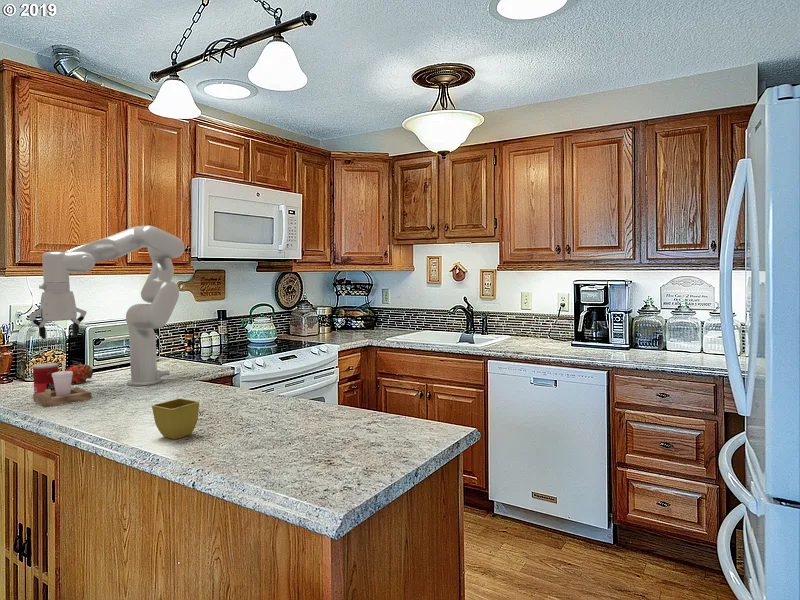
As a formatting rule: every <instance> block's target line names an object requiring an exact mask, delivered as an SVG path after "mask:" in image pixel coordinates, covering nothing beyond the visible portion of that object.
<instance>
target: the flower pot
mask: <svg viewBox="0 0 800 600" xmlns="http://www.w3.org/2000/svg"><path fill="white" fill-rule="evenodd" d="M151 408H152V409H151V410H152V414H153V419H154V424H155V426H156V428H157V430H158V432H159V433H160V434H161V435H162V436H163V437H164V436H165V437H164V438H167V437H168V438H167V439H171V438H172V439H171V440H178V439H181V438H184V437H186V436H190V435H192V433H193V432H194V430H195V428H196V425H197V423H198V419H199V411H200V409H199V408H200V401H197V400H193V399H192V400H191V399H186V398H176V399H172V400H167V401H164V402H159V403H156V404H152V405H151ZM177 438H178V439H177Z"/></svg>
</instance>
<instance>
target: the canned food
mask: <svg viewBox="0 0 800 600" xmlns="http://www.w3.org/2000/svg"><path fill="white" fill-rule="evenodd" d="M55 372H60V371H59V364H58V363H55V362H47V363H37V364H34V365H32V374H33V375H32V378H33V379H32V380H33V392H34V393H33V394H35V393H42V392H45V390H46V389H51V391H55V386H54V381H53V377H52V373H55Z"/></svg>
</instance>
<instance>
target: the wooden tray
mask: <svg viewBox="0 0 800 600" xmlns="http://www.w3.org/2000/svg"><path fill="white" fill-rule="evenodd" d="M90 399H91V400H92V393H91V392H90V391H88V390H86V389H83V388H81V387H79V386H76V387H71V392H70V394H68V395H62V396H56V391H51V389H46V390H45V392H42V393H35V394H34V393H33V402H35V403H37V404H38V405H40V406H41V407H43V408H49V407H50V406H51V407H56V406H55V405H57V406H62V405H61V404H63V405H67V404H66V403H69V404H73V403H72V402H75V403H79V402H78V401H81V402H85V401H84V400H87V401H91V400H90Z"/></svg>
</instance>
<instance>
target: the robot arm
mask: <svg viewBox="0 0 800 600" xmlns="http://www.w3.org/2000/svg"><path fill="white" fill-rule="evenodd" d="M142 248H147V253H148V254H149V257H150V260H151V263H152V265H151V266H152V267H151V270H150V272H149V275H148V277H147V278H146V279H145V283H144V284H143V287H142V288H141V291H140V297H141V299H142V300H143V301H144V302H146V303H136V304H134V305H131V306H130V307H128V309H127V310H126V314H125V321H126V325H127V326H126V327H127V329H128V337H129V338H128V341H129V359H130V379H129V380H127V381H126V385H127V386H132V387H133V386H135V387H136V386H137V387H141V386H149V385H155V384H159V383H162V376H163V377H164V376H165V377H166V376H169V375H170V374H171V373H170V370H168V369H167V370H159V369H158V363H157V362H158V361H157V359H158V358H157V338H156V337H157V336H156V334H155V330H156V329H158V330H159V329H161V328H163V327H165V325H166V324H167V323H168V322H169V320H170V318H171V316H172V313H173V312H174V310H175V307H176V304H177V303H178V301H179V298H180V289H179V287H178V285H177V283H175V282H174V281H172V279H173V276H174V273H175V268H174V264H173V261H172V259H176V258H177V259H178V258H180V257H181V256H183V254H184V253H185V250H186V248H185V244H184V242H183V240H182V239H181V238H179V237H178V236H175V235H174V234H172V233H170V232H167V231H165V230H164V229H161V228H158V227H156V226H153V225H149V224H148V225H138V226H137V225H136V226H132V227H129V228H128V229H127V228H126V229H124V230H122V231H120V232H117V233H114V234H111V235H109V236H106V237H104V238H100V239H98V240H94V241H91V242H89V243H84V244H82V245H79V246H76V247H74V248H71V249H68V250H66V251H64V252H63V251H46V252H44V253H42V256H41V258H42V260H41V261H42V273H43V275H42V277H43V278H42V279H43V283H42V284H39V285H38V289H39V290H42V292H41V296H40V307H39V309H38V310H35V311H34V312H32V313H29V314H28V318H29V319H30V321H31V322H32V323H33V324H35V325H36V327H38V335H39V337H40V338H41V339H42V340H46V338H47V332H46V330H47V328H46V326H45V325H46V324H47V323H48V322H59V321H71V322H72V325H71V327H72V328H71V329H72V336H75V337H78V335H79V333H80V324H81V322H83V320H84V319H85V317H86V315H87V313H88V312H87V311H86V310H84V309H81V308H79V307H77V305H76V300H75V299H76V298H75V295H74V292H73V291H72V290H71V288H70V274H73V273H75V274H76V273H79V274H81V273H82V274H83V273H87V272H90V271H92V270H93V268H94V267H95V265H96V263H98V262H99V263H100V262H105V261H112V260H115V259H119V258H122V257H124V256H126V255H129V254H130V253H132V252H135V251H138V250H140V249H142ZM78 313H79V316H78ZM39 315H40V320H37V318H36V316H39ZM154 329H155V330H154Z"/></svg>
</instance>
